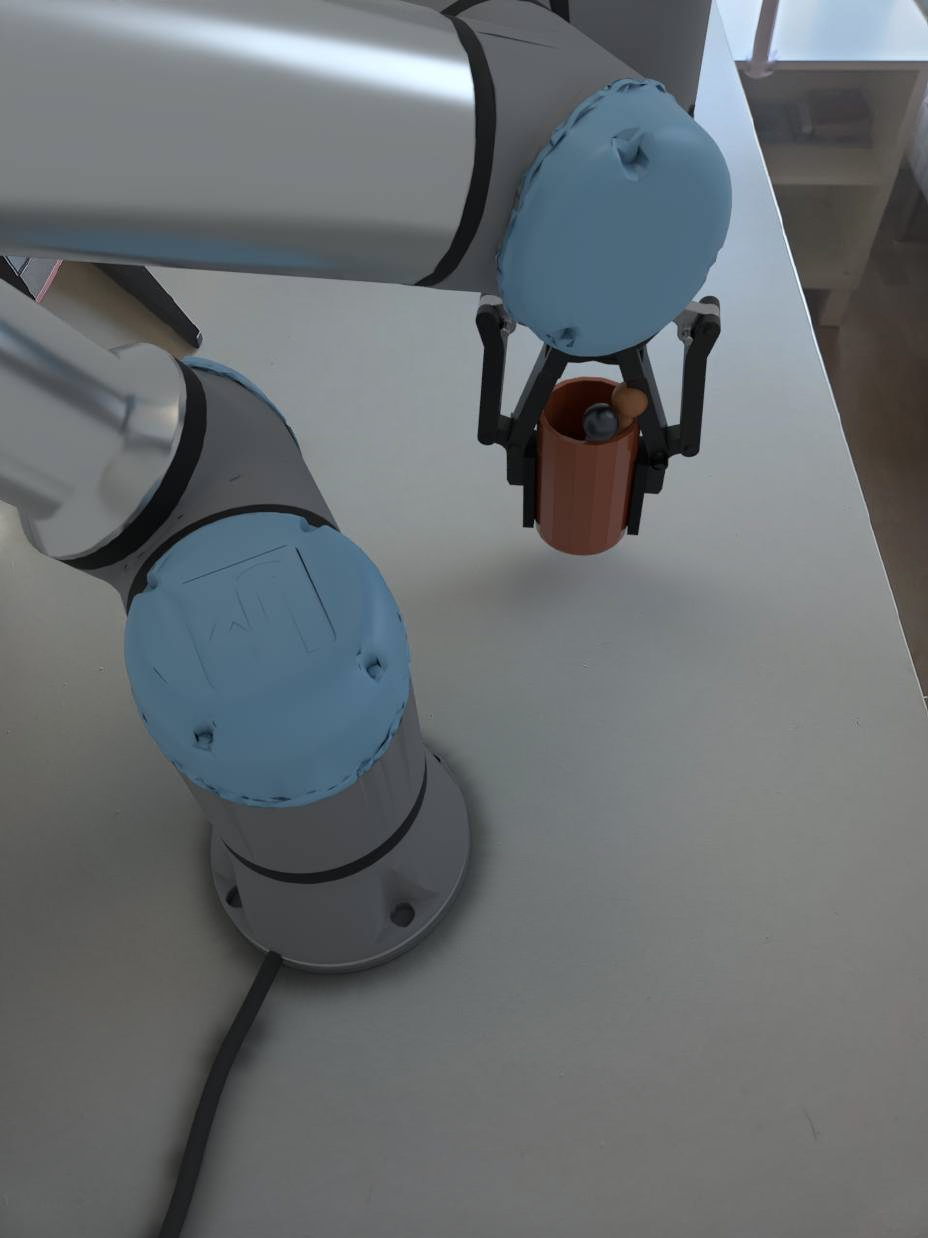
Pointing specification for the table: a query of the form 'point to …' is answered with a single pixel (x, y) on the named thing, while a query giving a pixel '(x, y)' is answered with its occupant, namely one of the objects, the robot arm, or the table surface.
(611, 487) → the cup
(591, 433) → the dark grey round-ended rod
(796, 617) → the table surface
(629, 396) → the spoon
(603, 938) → the table surface
